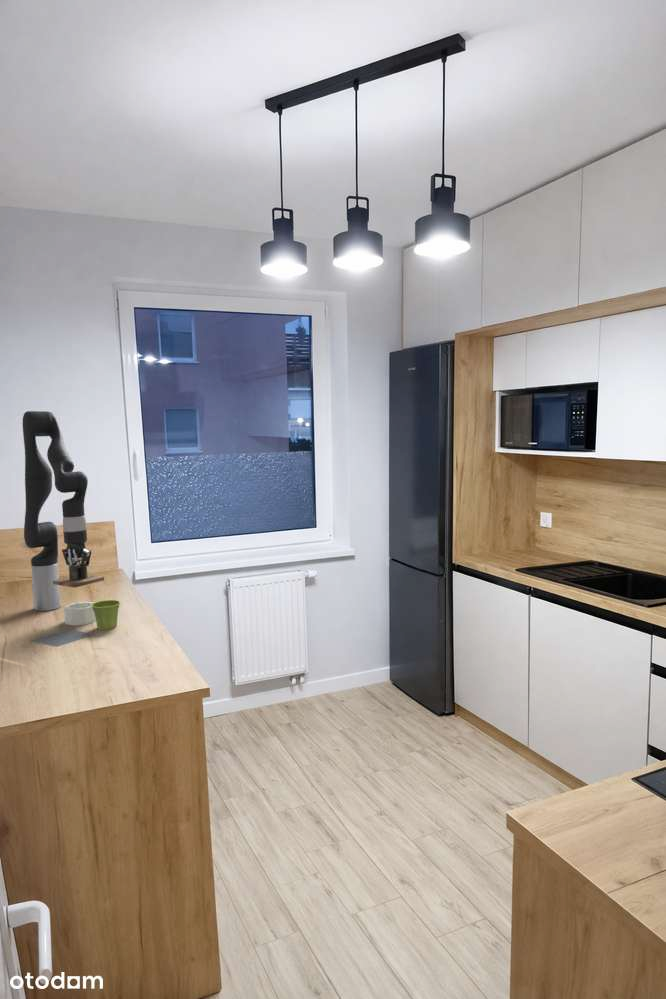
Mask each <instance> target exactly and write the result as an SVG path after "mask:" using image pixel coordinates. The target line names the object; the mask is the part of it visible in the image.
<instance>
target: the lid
mask: <svg viewBox="0 0 666 999" xmlns="http://www.w3.org/2000/svg"><path fill="white" fill-rule="evenodd" d="M80 564H81V562H80ZM87 568H88V566H86V567H85V578H82V579H79V578H78V567H77V564H75V565H70V566H69V565H68V574H69V575H68V576H67V577H64V578H59V580H54V581H53V584H55V585H59V586H63V587H68V588H78V587H79V588H80V587H83V586H87V585H91V584H95V583H99V582H103V581H105V577H104V576H101V575H100V576H99V575H93V574H88V569H87Z"/></svg>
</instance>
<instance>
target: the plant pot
mask: <svg viewBox="0 0 666 999" xmlns="http://www.w3.org/2000/svg"><path fill="white" fill-rule="evenodd" d="M120 605H121V601H120V600H115V599H108V600H107V599H106V600H100V601H95V602H94V603H93V604H92V605H91V607H92V608H93V611H94V613H95V618H96V621H95V622H96V626H97V629H98V630H101V631H106V630H112V629H115V628H117V627H118V617H119V616H118V614H119V608H120Z"/></svg>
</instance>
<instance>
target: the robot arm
mask: <svg viewBox="0 0 666 999" xmlns="http://www.w3.org/2000/svg"><path fill="white" fill-rule="evenodd" d="M58 421H59V420H58V419H57V417H56V415H55V414H54V413H53V412H51V411H45V410H44V411H43V410H41V411H40V410H39V411H38V410H33V411H32V410H31V411H30V410H28V411H25V412H24V413H23V416H22V433H23V435H22V436H23V446H24V447H23V448H24V487H25V488H24V489H25V510H24V512H25V513H24V524H23V526H24V527H23V538H24V539H23V540H24V543H25V545H26V546H27V548H28V549H29V548H30V549H37V548H42V550H41V551H40V552H39V553H38V554H35V555H34V556H33V557H31V559H30V566H31V576H32V577H31V578H32V585H31V589H32V602H33V609H34V610H35V611H37V612H48V611H54V610H57V609H60V608H61V607H62V603H61V588H60V585H55V584H53V581H54V580H59V579H60V577H59V576H60V575H59V565H58V564H59V563H58V558H59V536H58V535H59V534H58V529H57V526H56V524H55V523H54V522H52V521H42V522H39V516H40V512H41V510H42V508H43V506H44V504H45V503H46V501H47V500H48V498H49V496H50V495H51V492H52V489H53V477H54V487H55V488H56V491H58V492H59V493H64V494H66V493H74V495H73V496H72V497H71V498H67V499H65V500H63V501H62V503H61V508H62V531H63V532H62V533H63V534H62V535H63V543H64V544H66V548H63V549H61V552H62V555H63V558H64V561H65V564H66V566H68V567H69V566H70V565H75V564H77V567H78V578H79V579H82V578H85V567H86V566H87V567H88V566H89V565H90V561H91V555H92V550H87V548H86V545H85V543H87V541H88V534H87V531H88V530H87V521H86V520H87V519H86V516H85V515H86V514H85V499H86V498H85V497H86V494H87V488H88V484H89V481H88V476H87V475H86V474H85V472H83V471H79V470H77V471H74V469H75V465H74V461H73V460H72V458H71V456H70V454H69V452H68V450H67V448H66V444H65V442H64V438H63V435H62V431H61V428H60V424H59V422H58ZM36 437H50V439H51V441H50V444H49V446H48V448H47V453H46V455H47V460H48V462H49V464H48V463H47V461H46V460H45V458H44V456H42V454H41V452H40V451H39V448H38V445H37V440H36ZM49 465H50V466H51V467H50V466H49ZM52 471H53V472H52ZM53 475H54V476H53ZM80 563H81V564H80Z"/></svg>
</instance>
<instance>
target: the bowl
mask: <svg viewBox="0 0 666 999" xmlns="http://www.w3.org/2000/svg"><path fill="white" fill-rule="evenodd" d="M93 603H95V602H93V601H82V602H81V601H80V602H74V603H70V604H67V605H65V607H64V609H63V610H64V620H65V623H64V624H65V625H69V626H80V625H81V626H83V625H88V624H92V623H95V622H96V618H95V613H94V611H93V608H92V607H91V605H92V604H93Z"/></svg>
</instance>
